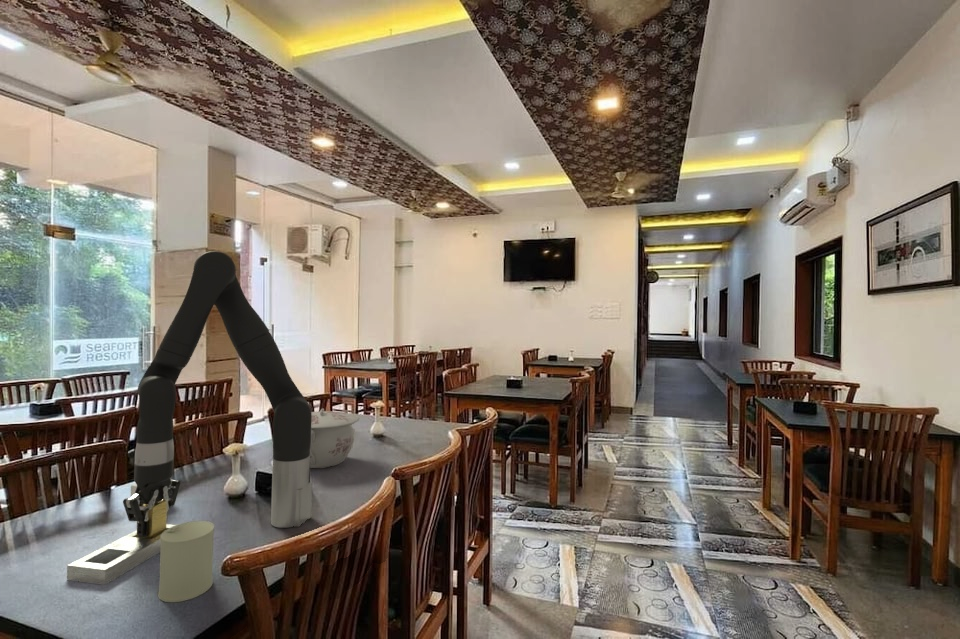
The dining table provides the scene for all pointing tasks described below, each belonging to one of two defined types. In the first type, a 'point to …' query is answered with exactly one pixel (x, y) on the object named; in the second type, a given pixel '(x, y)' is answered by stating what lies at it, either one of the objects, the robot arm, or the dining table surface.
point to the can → (186, 561)
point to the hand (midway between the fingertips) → (152, 531)
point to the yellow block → (157, 519)
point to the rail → (114, 559)
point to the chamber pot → (331, 437)
